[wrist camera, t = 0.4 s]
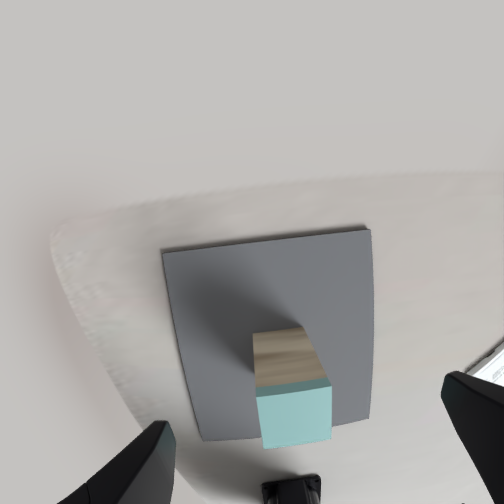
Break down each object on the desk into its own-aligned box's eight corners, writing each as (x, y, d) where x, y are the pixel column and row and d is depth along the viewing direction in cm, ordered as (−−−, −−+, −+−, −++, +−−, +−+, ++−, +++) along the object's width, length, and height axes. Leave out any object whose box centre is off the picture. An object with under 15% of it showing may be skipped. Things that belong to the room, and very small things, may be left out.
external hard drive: (468, 433, 28) (462, 371, 26) (510, 398, 28) (509, 331, 26) (474, 440, 26) (470, 378, 25) (517, 403, 26) (518, 336, 24)
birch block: (305, 370, 24) (331, 438, 16) (258, 376, 24) (263, 449, 15) (303, 326, 24) (331, 386, 15) (252, 333, 24) (256, 397, 15)
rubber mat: (367, 415, 26) (368, 418, 25) (203, 437, 26) (202, 441, 25) (368, 229, 23) (370, 229, 23) (163, 252, 23) (162, 253, 23)
